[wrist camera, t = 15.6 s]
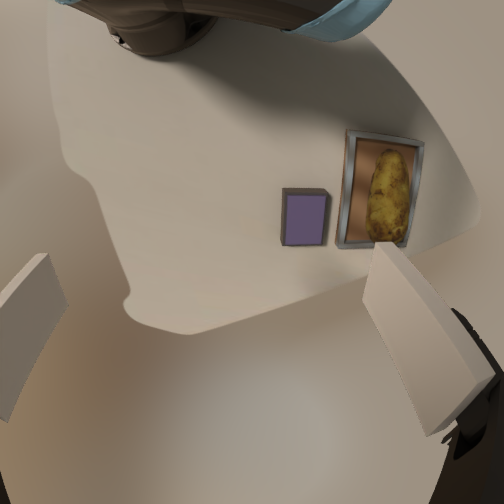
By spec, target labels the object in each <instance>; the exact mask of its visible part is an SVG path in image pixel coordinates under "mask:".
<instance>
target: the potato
mask: <svg viewBox="0 0 504 504" xmlns="http://www.w3.org/2000/svg"><path fill="white" fill-rule="evenodd" d="M409 209H410V196H409V173H408V167H407V164H406V161H405V159H404V157H403V155H402V154H401V153H400V152H398V151H397V150H393V149H386V150H384V151H383V152H382V153H381V154H380V155H379V157H378V158H377V160H376V168H375V172H374V173H373V175H372V179H371V186H370V190H369V195H368V202H367V212H366V221H365V227H366V232H367V234H368V236H369V238H370V239H371V241H372V242H373V243H374V244H375V242H393V243H394V244H395V245H396V244H398V243H399V242H400V241H401V240H402V239H403V238H404V236H405V235H406V232H407V230H408V224H409V213H410V211H409Z"/></svg>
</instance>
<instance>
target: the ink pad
mask: <svg viewBox="0 0 504 504" xmlns="http://www.w3.org/2000/svg"><path fill="white" fill-rule="evenodd" d="M327 198H328V192H327V191H326V190H325V189H321V188H282V213H281V237H280V240H281V243H282V246H301V245H322V244H323V236H324V227H325V218H326V208H327Z"/></svg>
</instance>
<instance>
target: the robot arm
mask: <svg viewBox="0 0 504 504" xmlns="http://www.w3.org/2000/svg"><path fill="white" fill-rule="evenodd" d="M55 1H56V2H58V3H59V4H63V5H68V6H71V7H73V8H75V9H78V10H80V11H82V12H84V13H86V14H89V15H91V16H93V17H95V18H97V19H99V20H101V21H103V22H105V23H106V24H107V27H108V30H109V32H110V34H111V36H112V38H113V39H114V40H115V41H116V42H117V43H118V44H119V45H120V46H122V47H123V48H125V49H127V50H129V51H131V52H133V53H136V54H140V55H145V56H161V55H167V54H171V53H175V52H178V51H180V50H183V49H185V48H187V47H189V46H191V45H192V44H194V43H195V42H197V41H198V40H200V39H201V38H202V37H203V36H204V35H205V34H206V33H207V32H208V31H209V30H210V29H211V28H212V26H213V25H214V24H215V22H216V20H217V18H218V17H224V18H231V19H236V20H242V21H247V22H251V23H256V24H260V25H265V26H269V27H273V28H277V29H280V30H281V32H284V33H288V34H295V33H296V34H300V35H304V36H307V37H311V38H314V39H317V40H320V41H325V42H336V41H340V40H346V39H349V38H351V37H353V36H355V35H357V34H358V33H360V32H361V31H363V30H364V29H365V28H367V27H368V26H369V25H370V24H371V23H373V22H374V21H375V20H376V19H377V18H378V17H379V16H380V15H381V13H383V11H384V10H385V9H386V8H387V7H388V5H389V4H390V3H391V1H392V0H55ZM362 301H363V303H364V305H365V307H366V309H367V311H368V313H369V314H370V316H371V318H372V320H373V322H374V324H375V326H376V328H377V330H378V332H379V334H380V336H381V337H382V340H383V342H384V344H385V346H386V348H387V350H388V352H389V354H390V355H391V358H392V360H393V362H394V364H395V366H396V368H397V370H398V372H399V375H400V377H401V379H402V381H403V383H404V385H405V388H406V390H407V392H408V394H409V397H410V399H411V401H412V404H413V406H414V408H415V410H416V413H417V415H418V417H419V420H420V423H421V425H422V428H423V430H424V432H425V435H426V437H428V436H430V435H432V434H435V433H437V432H439V431H441V430H444V429H445V428H447V427H448V426H449V425H450V423H452V422H453V421H454V420H455V419H456V421H457V423H458V425H457V426H456V427H455V428H454V429H453V430H452V431H451V432H450V433H448V434H447V435H446V436H445V437H444V438H443V440H442V442H441V443H442V444H443V443H445V442H446V441H447V440H449V439H450V438H451V437H452V439H451V441H450V442H449V443H448V444H447V445H449V449H448V453H447V456H446V459H445V462H444V465H443V468H442V471H441V474H440V477H439V479H438V482H437V485H436V487H435V490H434V492H433V495H432V497H431V499H430V502H429V504H504V372H503V371H502V369H501V367H500V366H499V364H498V363H497V361H496V360H495V358H494V357H493V355H492V354H491V352H490V351H489V349H488V348H487V346H486V345H485V344H484V342H483V341H482V339H479V335H478V334H477V332H476V331H475V330H473V327H472V326H471V324H470V323H469V322H468V320H467V319H466V318H465V317H464V316H463V315H461V314H460V313H459V312H458V311H456V310H455V309H454V308H451V309H450V308H449V306H448V305H447V304H446V303H445V301H444V300H443V299H442V298H441V297H440V295H439V294H438V293H437V292H436V290H435V289H434V288H433V287H432V286H431V284H430V283H429V282H428V281H427V280H426V279H425V277H424V276H423V275H422V274H421V273H420V272H419V271H418V269H417V268H416V267H415V266H414V265H413V264H412V263H411V262H410V260H409V259H408V258H407V257H406V256H405V255H404V254H403V253H402V252H401V251H400V250H399V249H398V247H397V246H396V245H395V244H394V243H393V242H375V247H374V252H373V256H372V261H371V265H370V269H369V274H368V278H367V282H366V286H365V290H364V293H363V297H362ZM68 306H69V304H68V302H67V300H66V298H65V295H64V293H63V290H62V288H61V286H60V283H59V281H58V278H57V275H56V273H55V270H54V267H53V265H52V262H51V259H50V256H49V254H48V253H45V254H44V253H41V254H36V255H35V256H34V257H33V258H32V259H31V260H30V261H29V262H28V263H27V264H26V265H25V266H24V267H23V268H22V269H21V271H20V272H19V273H18V274H17V275H16V276H15V277H14V278H13V279H12V280H11V281H10V283H9V284H8V285H7V286H6V287H5V288H4V289H3V291H2V292H1V293H0V419H1V420H3V421H5V422H7V423H8V421H9V419H10V416H11V414H12V411H13V409H14V406H15V404H16V402H17V399H18V397H19V395H20V392H21V391H22V388H23V386H24V384H25V382H26V380H27V378H28V376H29V374H30V372H31V370H32V368H33V366H34V364H35V362H36V360H37V358H38V357H39V355H40V353H41V351H42V349H43V347H44V346H45V344H46V342H47V340H48V339H49V337H50V335H51V333H52V332H53V330H54V328H55V327H56V325H57V323H58V322H59V320H60V318H61V317H62V315H63V313H64V312H65V310H66V309H67V307H68ZM0 504H11V503H10V500H9V497H8V495H7V492H6V489H5V486H4V483H3V479H2V476H1V472H0Z"/></svg>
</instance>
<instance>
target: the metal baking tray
mask: <svg viewBox="0 0 504 504" xmlns="http://www.w3.org/2000/svg"><path fill="white" fill-rule="evenodd" d="M386 149H393V150H397V151H398V152H400V153H401V154H402V155H403V157H404V159H405V161H406V164H407V167H408V173H409V196H410V209H409V211H410V213H409V224H408V230H407V232H406V235H405V236H404V238H403V239H402V240H401V241H400V242H399V243H398V244H396V246H397V247H406V244H407V240H408V235H409V231H410V227H411V222H412V218H413V213H414V208H415V203H416V198H417V192H418V187H419V181H420V174H421V167H422V160H423V152H424V142H422V141H419V140H414V139H409V138H403V137H398V136H392V135H386V134H379V133H372V132H365V131H357V130H348V129H346V138H345V153H344V166H343V178H342V188H341V197H340V206H339V215H338V223H337V230H336V238H335V244H336V246H337V247H338V249H344V248H374V247H375V244H374V243H373V242H372V241H371V239H370V238H369V236H368V234H367V232H366V227H365V221H366V212H367V202H368V195H369V190H370V186H371V179H372V175H373V173H374V172H375V168H376V160H377V158H378V157H379V155H380V154H381V153H382V152H383V151H384V150H386Z"/></svg>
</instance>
